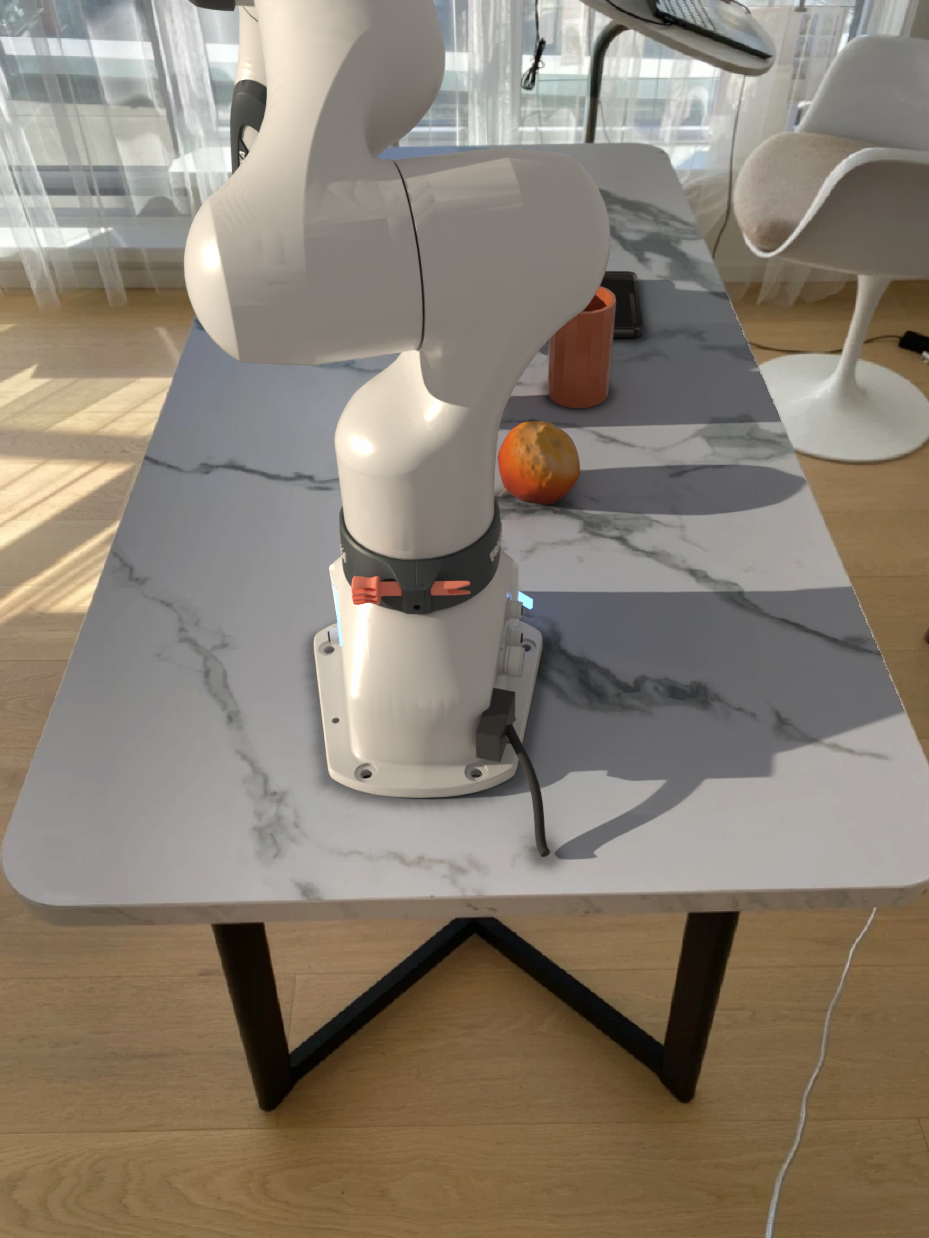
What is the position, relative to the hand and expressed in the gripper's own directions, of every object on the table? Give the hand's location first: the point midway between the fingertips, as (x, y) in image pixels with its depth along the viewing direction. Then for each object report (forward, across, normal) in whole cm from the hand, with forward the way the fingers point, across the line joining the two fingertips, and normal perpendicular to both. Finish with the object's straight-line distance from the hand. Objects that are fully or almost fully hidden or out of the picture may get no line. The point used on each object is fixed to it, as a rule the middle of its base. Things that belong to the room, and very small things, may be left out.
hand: (504, 304), depth 113 cm
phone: (+3, +18, +8) cm, 20 cm away
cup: (+10, 0, +8) cm, 12 cm away
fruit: (+15, -18, +8) cm, 25 cm away
